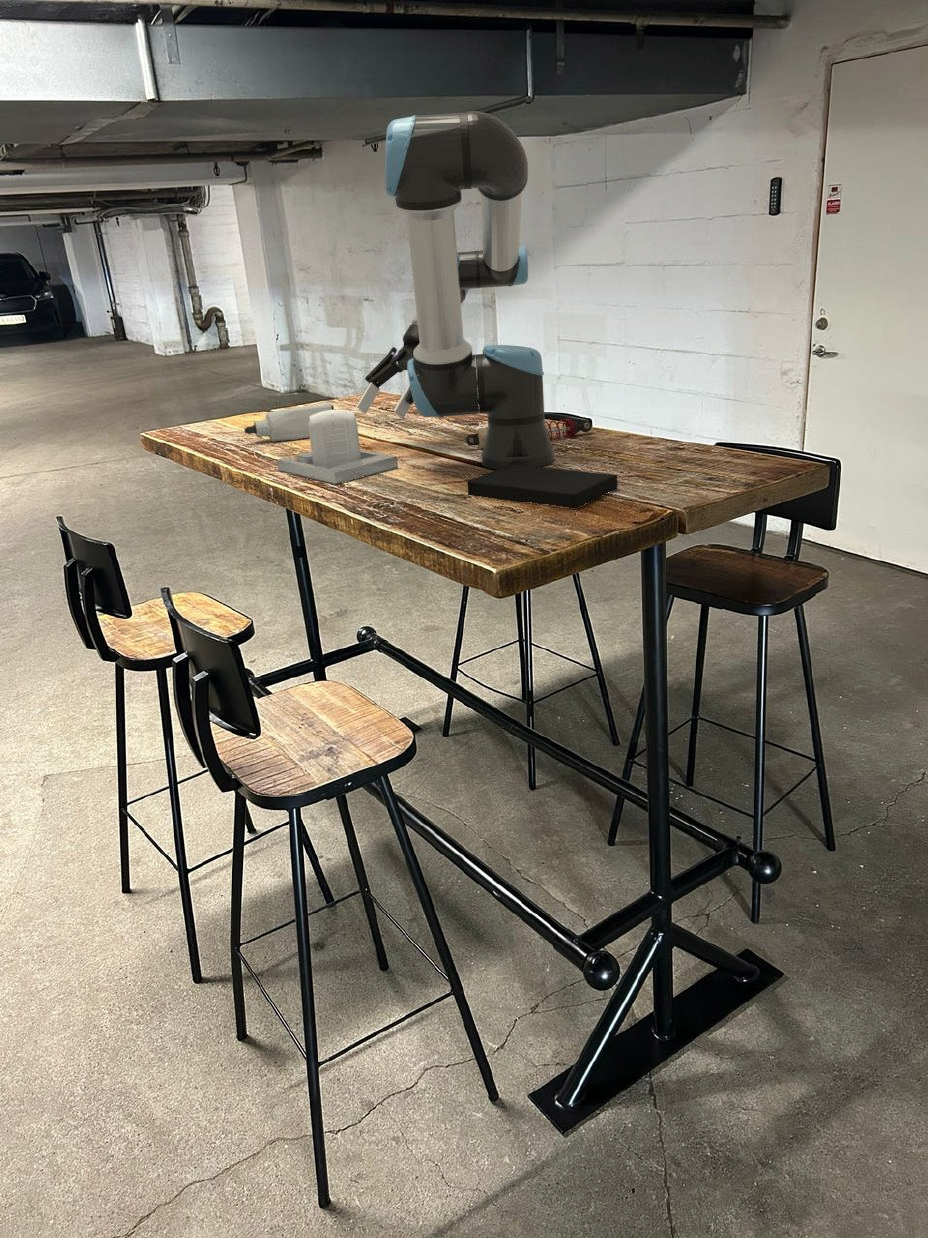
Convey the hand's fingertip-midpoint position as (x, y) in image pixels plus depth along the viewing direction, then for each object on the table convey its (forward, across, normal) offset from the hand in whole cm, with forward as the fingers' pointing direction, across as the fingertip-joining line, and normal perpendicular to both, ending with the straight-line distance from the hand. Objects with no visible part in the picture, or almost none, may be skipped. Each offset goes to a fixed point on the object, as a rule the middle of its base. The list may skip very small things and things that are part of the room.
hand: (379, 412), depth 196 cm
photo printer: (+16, -1, +2) cm, 16 cm away
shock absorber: (-12, -19, -26) cm, 35 cm away
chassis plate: (+16, 0, +2) cm, 16 cm away
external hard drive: (+10, -51, -6) cm, 52 cm away
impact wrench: (+4, +47, -10) cm, 48 cm away
